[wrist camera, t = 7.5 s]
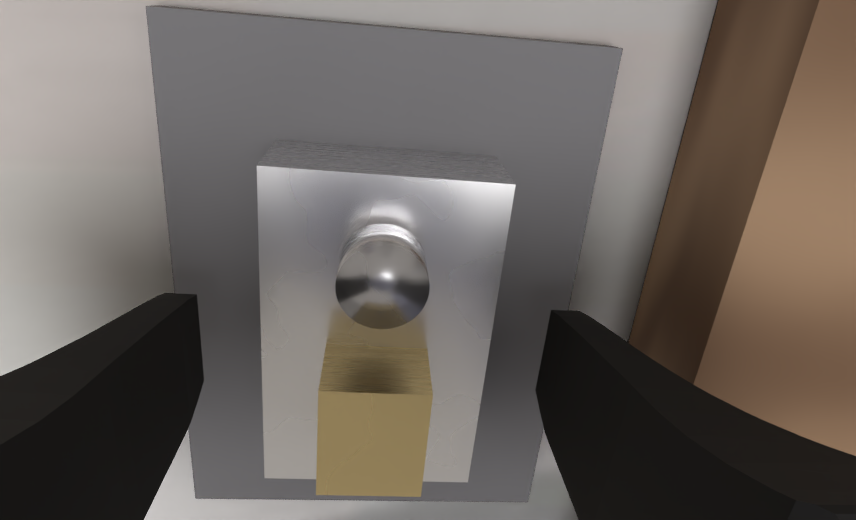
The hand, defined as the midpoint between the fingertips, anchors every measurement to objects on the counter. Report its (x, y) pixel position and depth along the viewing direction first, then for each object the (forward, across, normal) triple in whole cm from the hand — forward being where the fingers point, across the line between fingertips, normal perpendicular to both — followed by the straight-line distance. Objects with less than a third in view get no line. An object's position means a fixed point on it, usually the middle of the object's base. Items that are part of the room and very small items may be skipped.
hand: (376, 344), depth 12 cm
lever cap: (+2, 0, 0) cm, 2 cm away
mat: (+2, 0, 0) cm, 2 cm away
